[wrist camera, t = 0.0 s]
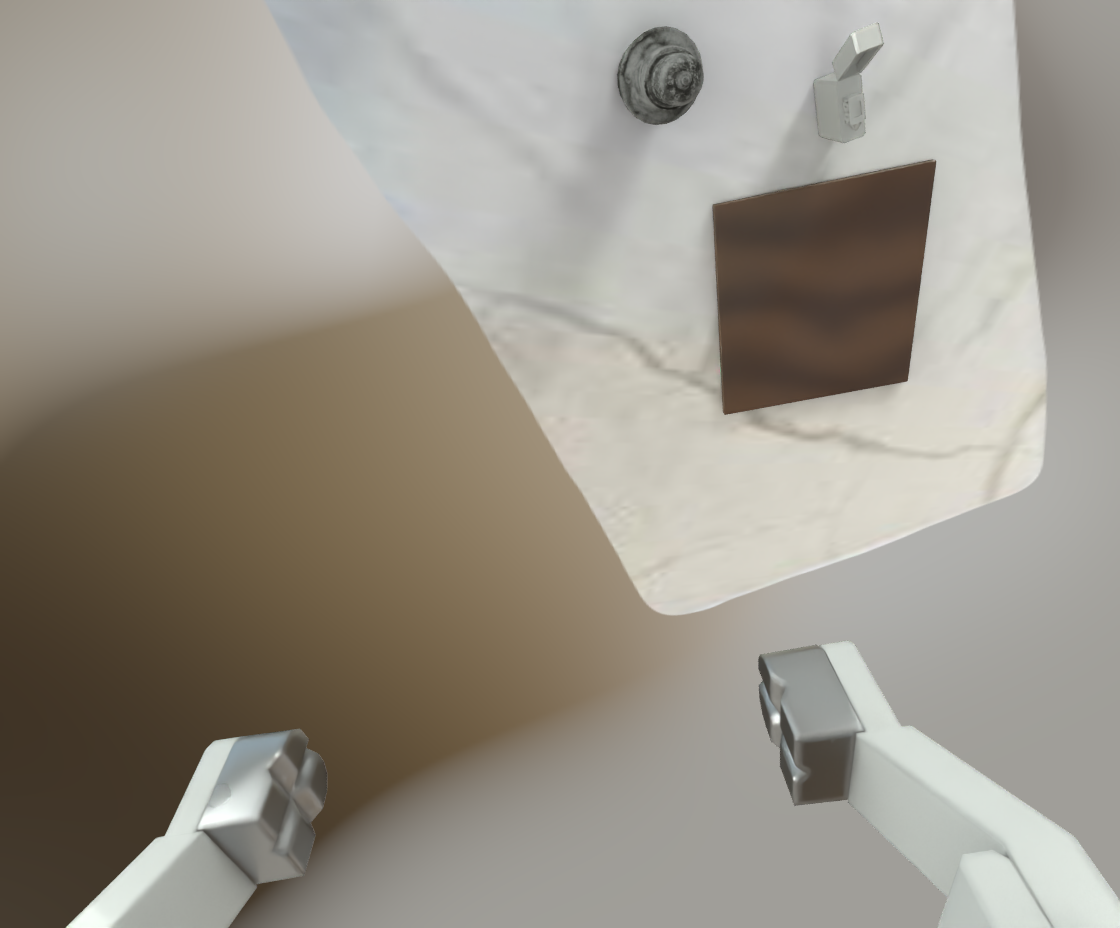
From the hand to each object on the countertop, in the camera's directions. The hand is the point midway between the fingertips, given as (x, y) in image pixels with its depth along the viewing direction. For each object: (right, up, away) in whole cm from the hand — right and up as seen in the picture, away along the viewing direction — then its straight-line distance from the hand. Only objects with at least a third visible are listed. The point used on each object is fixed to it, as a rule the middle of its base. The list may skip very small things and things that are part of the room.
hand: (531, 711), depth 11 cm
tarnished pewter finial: (+7, +34, +36) cm, 50 cm away
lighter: (+21, +33, +37) cm, 54 cm away
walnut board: (+24, +19, +46) cm, 55 cm away
